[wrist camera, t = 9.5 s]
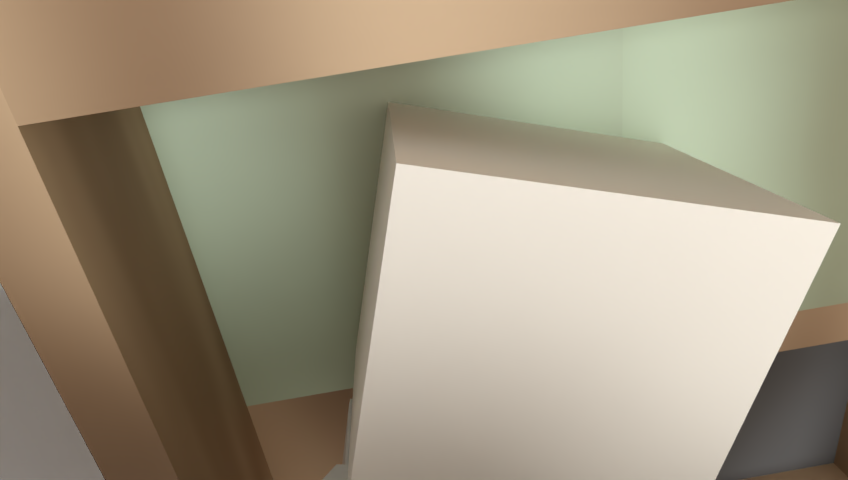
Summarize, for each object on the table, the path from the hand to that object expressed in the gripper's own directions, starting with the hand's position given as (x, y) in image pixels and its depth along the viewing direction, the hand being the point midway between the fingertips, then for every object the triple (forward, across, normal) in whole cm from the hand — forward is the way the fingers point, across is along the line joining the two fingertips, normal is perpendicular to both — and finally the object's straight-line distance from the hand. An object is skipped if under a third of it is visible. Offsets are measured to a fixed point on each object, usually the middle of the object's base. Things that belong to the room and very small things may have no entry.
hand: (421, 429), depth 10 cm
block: (+1, -1, -3) cm, 4 cm away
